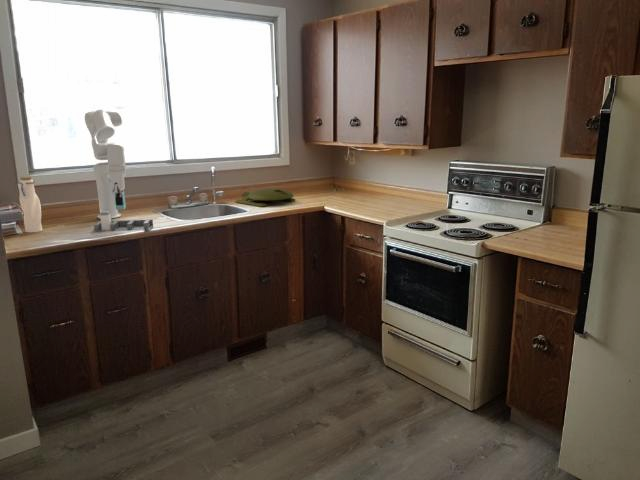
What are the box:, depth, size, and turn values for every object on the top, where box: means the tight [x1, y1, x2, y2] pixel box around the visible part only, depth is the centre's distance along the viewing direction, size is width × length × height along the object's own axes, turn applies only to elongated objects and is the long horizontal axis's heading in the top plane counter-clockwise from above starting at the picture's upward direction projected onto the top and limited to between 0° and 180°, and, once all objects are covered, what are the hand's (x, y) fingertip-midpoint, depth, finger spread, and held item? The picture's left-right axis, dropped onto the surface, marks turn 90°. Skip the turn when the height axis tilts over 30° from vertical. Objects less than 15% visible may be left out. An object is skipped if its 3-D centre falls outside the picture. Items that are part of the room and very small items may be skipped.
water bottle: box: [17, 176, 43, 233], centre depth 261 cm, size 10×9×28 cm
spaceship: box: [235, 187, 296, 208], centre depth 339 cm, size 35×31×10 cm
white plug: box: [99, 211, 112, 230], centre depth 262 cm, size 4×4×9 cm
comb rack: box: [91, 218, 154, 233], centre depth 264 cm, size 12×28×4 cm, turn 98°
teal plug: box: [114, 190, 127, 211], centre depth 260 cm, size 4×4×9 cm
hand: (120, 203), depth 261 cm, fingers closed on teal plug, 4 cm apart
